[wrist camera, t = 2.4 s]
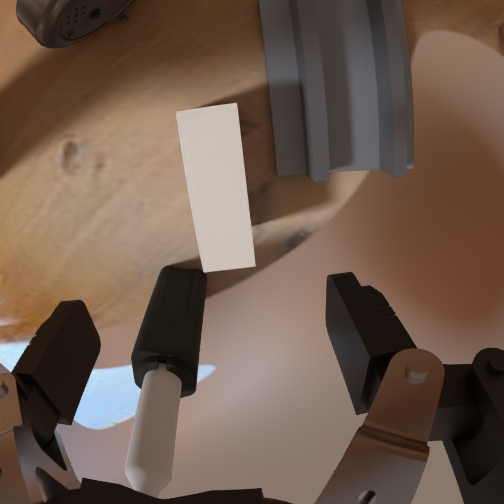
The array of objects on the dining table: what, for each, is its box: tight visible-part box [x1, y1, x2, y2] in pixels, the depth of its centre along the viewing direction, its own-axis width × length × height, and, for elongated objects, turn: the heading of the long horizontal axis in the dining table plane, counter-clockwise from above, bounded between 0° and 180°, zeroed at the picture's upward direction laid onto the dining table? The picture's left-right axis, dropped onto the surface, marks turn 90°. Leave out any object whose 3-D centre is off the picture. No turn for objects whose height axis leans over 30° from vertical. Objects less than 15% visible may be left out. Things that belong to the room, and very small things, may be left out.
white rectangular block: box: [176, 103, 256, 272], centre depth 25 cm, size 4×12×8 cm, turn 6°
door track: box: [258, 0, 414, 182], centre depth 22 cm, size 14×24×4 cm, turn 6°
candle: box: [125, 266, 207, 498], centre depth 23 cm, size 5×5×25 cm
